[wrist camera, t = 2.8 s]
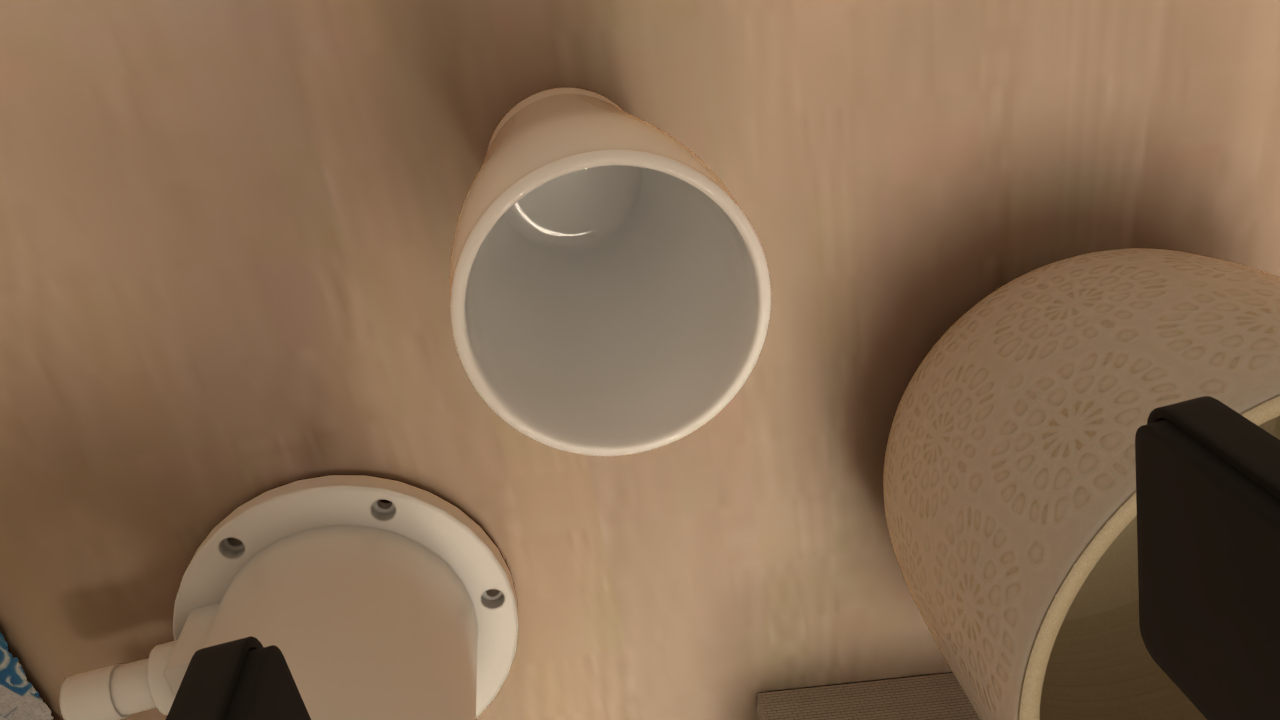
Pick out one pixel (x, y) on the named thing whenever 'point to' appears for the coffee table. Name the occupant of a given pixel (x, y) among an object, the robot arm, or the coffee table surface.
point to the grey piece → (18, 691)
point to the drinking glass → (603, 280)
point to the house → (872, 701)
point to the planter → (1063, 469)
